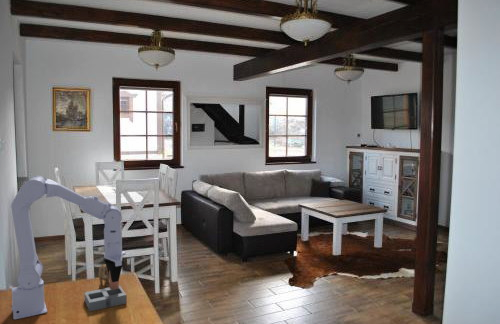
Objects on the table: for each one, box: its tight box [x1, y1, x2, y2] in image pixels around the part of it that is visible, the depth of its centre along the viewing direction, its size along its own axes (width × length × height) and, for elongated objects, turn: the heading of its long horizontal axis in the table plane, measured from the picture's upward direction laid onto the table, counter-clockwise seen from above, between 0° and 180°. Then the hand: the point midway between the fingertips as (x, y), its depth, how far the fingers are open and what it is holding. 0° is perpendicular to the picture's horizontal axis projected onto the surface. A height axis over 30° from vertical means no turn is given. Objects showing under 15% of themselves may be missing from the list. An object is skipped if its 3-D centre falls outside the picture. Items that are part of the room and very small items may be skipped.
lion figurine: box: [97, 263, 110, 288], centre depth 158 cm, size 15×5×9 cm, turn 8°
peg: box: [109, 270, 120, 290], centre depth 143 cm, size 3×3×8 cm
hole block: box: [83, 284, 128, 312], centre depth 142 cm, size 12×9×3 cm
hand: (114, 279), depth 143 cm, fingers closed on peg, 3 cm apart
